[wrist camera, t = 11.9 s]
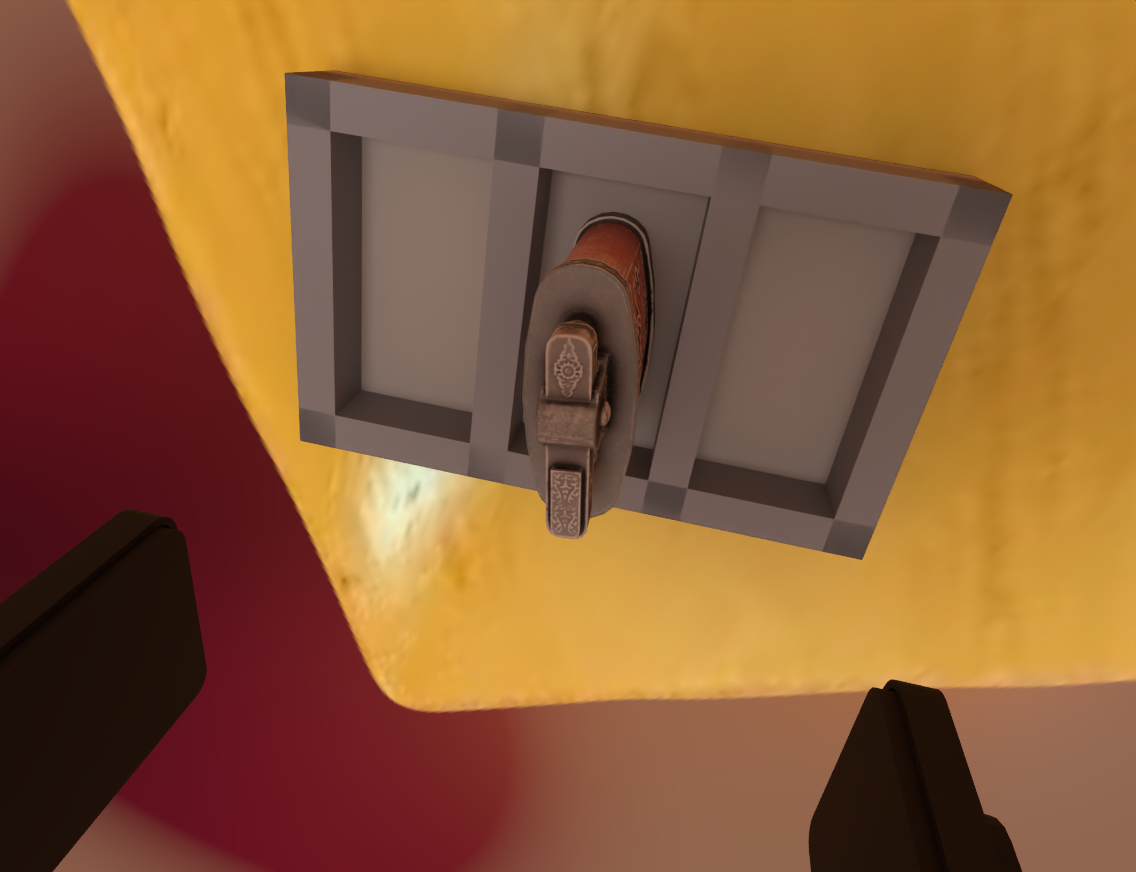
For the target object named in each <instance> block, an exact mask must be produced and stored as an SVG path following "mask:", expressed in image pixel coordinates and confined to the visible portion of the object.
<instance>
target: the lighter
mask: <svg viewBox="0 0 1136 872" xmlns="http://www.w3.org/2000/svg"><path fill="white" fill-rule="evenodd" d="M654 328H655V279H654V271H653V263H652V255H651V248H650V240H649V237H648V234H647V231H646V229H645V228H644V227H643V225H642V224H641V223H640V222H639V221H638V220H637V219H635V218H633V217H632V216H630V215H628V214H625V213H620V212H615V211H614V212H605V213H600V214H598V215H596V216H594V217H592V218H590V219H589V220H588V221H587V222H586V223H585V224H584V225H583V226H582V227H581V229H580V230H579V231H578V234H577V236H576V238H575V241H574V245H573V249H572V251H571V252H570V254H569V255H568V257H567V258H566V260H565V261H564V262H563V263H561V264H559V265H556V266H555V267H554V268H553V269H552V270H551V271H550V272H549V273H548V274H547V275H546V276H545V277H544V279H543V280H542V281H541V283H540V285H539V287H538V289H537V292H536V294H535V297H534V303H533V308H532V313H531V319H530V324H529V329H528V335H527V340H526V346H525V361H524V378H523V395H522V399H523V410H524V420H525V431H526V442H527V449H528V453H529V457H530V462H531V466H532V471H533V475H534V480H535V484H536V488H537V491H538V493H539V495H540V497H541V499H542V500H543V501H544V502H545V503H546V525H547V529H548V530H549V532H550V533H551V534H553V535H554V536H556V537H560V538H567V539H578V538H581V537H583V536H584V534H585V533H586V531H587V527H588V523H589V519H590V518H592V517H595V516H599V515H602V514H604V513H606V512H607V511H608V510H610V509H611V508H613V507H614V505H615V503H616V502H617V500H618V498H619V495H620V492H621V488H622V485H623V481H624V478H625V474H626V470H627V467H628V463H629V460H630V456H631V452H632V447H633V441H634V434H635V427H636V419H637V412H638V405H639V401H640V397H641V394H642V390H643V387H644V383H645V379H646V376H647V372H648V368H649V362H650V355H651V349H652V342H653V335H654Z"/></svg>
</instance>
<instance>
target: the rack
mask: <svg viewBox="0 0 1136 872" xmlns="http://www.w3.org/2000/svg"><path fill="white" fill-rule="evenodd" d="M285 92H286V115H287V139H288V162H289V186H290V209H291V233H292V256H293V280H294V303H295V327H296V350H297V374H298V397H299V421H300V441H304V442H309V443H314V444H318V445H323V446H328V447H333V448H337V449H342V450H347V451H351V452H356V453H361V454H366V455H370V456H375V457H380V458H384V459H389V460H394V461H399V462H403V463H408V464H413V465H417V466H422V467H427V468H432V469H436V470H441V471H446V472H450V473H455V474H460V475H465V476H469V477H474V478H479V479H483V480H488V481H493V482H497V483H502V484H507V485H512V486H516V487H521V488H526V489H530V490H535V491H537V488H536V484H535V480H534V475H533V471H532V466H531V462H530V457H529V453H528V449H527V442H526V431H525V420H524V410H523V399H522V395H523V378H524V361H525V346H526V340H527V335H528V329H529V324H530V319H531V313H532V308H533V303H534V297H535V294H536V292H537V289H538V287H539V285H540V283H541V281H542V280H543V279H544V277H545V276H546V275H547V274H548V273H549V272H550V271H551V270H552V269H553V268H554V267H555V266H556V265H559V264H561V263H563V262H564V261H565V260H566V258H567V257H568V255H569V254H570V252H571V251H572V249H573V245H574V241H575V238H576V236H577V234H578V231H579V230H580V229H581V227H582V226H583V225H584V224H585V223H586V222H587V221H588V220H589V219H590V218H592V217H594V216H596V215H598V214H600V213H605V212H614V211H615V212H620V213H625V214H628V215H630V216H632V217H633V218H635V219H637V220H638V221H639V222H640V223H641V224H642V225H643V227H644V228H645V229H646V231H647V234H648V237H649V240H650V248H651V255H652V263H653V271H654V279H655V328H654V335H653V342H652V349H651V355H650V362H649V368H648V372H647V376H646V379H645V383H644V387H643V390H642V394H641V397H640V401H639V405H638V412H637V419H636V427H635V434H634V441H633V447H632V452H631V456H630V460H629V463H628V467H627V470H626V474H625V478H624V481H623V485H622V488H621V492H620V495H619V498H618V500H617V502H616V503H615V505H614V507H615V508H620V509H625V510H629V511H634V512H639V513H644V514H648V515H653V516H658V517H662V518H667V519H672V520H677V521H681V522H686V523H691V524H695V525H700V526H705V527H710V528H714V529H719V530H724V531H728V532H733V533H738V534H743V535H747V536H752V537H757V538H761V539H766V540H771V541H776V542H780V543H785V544H790V545H794V546H799V547H804V548H809V549H813V550H818V551H823V552H827V553H832V554H837V555H842V556H846V557H851V558H856V559H860V560H862V559H863V556H864V554H865V552H866V549H867V547H868V544H869V542H870V539H871V537H872V535H873V532H874V530H875V527H876V525H877V522H878V520H879V518H880V515H881V513H882V510H883V508H884V505H885V503H886V501H887V498H888V496H889V493H890V491H891V488H892V486H893V484H894V481H895V479H896V476H897V474H898V471H899V469H900V467H901V464H902V462H903V459H904V457H905V455H906V452H907V450H908V447H909V445H910V442H911V440H912V438H913V435H914V433H915V430H916V428H917V425H918V423H919V421H920V418H921V416H922V413H923V411H924V408H925V406H926V404H927V401H928V399H929V396H930V394H931V391H932V389H933V387H934V384H935V382H936V379H937V377H938V374H939V372H940V370H941V367H942V365H943V362H944V360H945V357H946V355H947V353H948V350H949V348H950V345H951V343H952V340H953V338H954V336H955V333H956V331H957V328H958V326H959V323H960V321H961V319H962V316H963V314H964V311H965V309H966V307H967V304H968V302H969V299H970V297H971V294H972V292H973V290H974V287H975V285H976V282H977V280H978V277H979V275H980V273H981V270H982V268H983V265H984V263H985V260H986V258H987V256H988V253H989V251H990V248H991V246H992V243H993V241H994V239H995V236H996V234H997V231H998V229H999V226H1000V224H1001V222H1002V219H1003V217H1004V214H1005V212H1006V209H1007V207H1008V205H1009V202H1010V200H1011V197H1012V194H1010V193H1008V192H1006V191H1004V190H1002V189H1000V188H998V187H995V186H993V185H991V184H989V183H987V182H985V181H983V180H981V179H979V178H977V177H973V176H967V175H961V174H955V173H949V172H943V171H937V170H931V169H925V168H919V167H913V166H907V165H901V164H895V163H889V162H883V161H877V160H871V159H865V158H859V157H852V156H846V155H840V154H834V153H828V152H822V151H816V150H810V149H804V148H798V147H792V146H786V145H780V144H774V143H768V142H762V141H756V140H750V139H744V138H738V137H732V136H726V135H720V134H714V133H708V132H702V131H696V130H690V129H684V128H678V127H672V126H666V125H659V124H653V123H647V122H641V121H635V120H629V119H623V118H617V117H611V116H605V115H599V114H593V113H587V112H581V111H575V110H569V109H563V108H557V107H551V106H545V105H539V104H533V103H527V102H521V101H515V100H509V99H503V98H497V97H491V96H485V95H479V94H473V93H466V92H460V91H454V90H448V89H442V88H436V87H430V86H424V85H418V84H412V83H406V82H400V81H394V80H388V79H382V78H376V77H370V76H364V75H358V74H352V73H346V72H340V71H315V72H295V73H285Z"/></svg>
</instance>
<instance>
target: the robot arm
mask: <svg viewBox="0 0 1136 872" xmlns="http://www.w3.org/2000/svg"><path fill="white" fill-rule="evenodd" d="M206 672H207V670H206V661H205V655H204V649H203V643H202V637H201V631H200V624H199V618H198V613H197V606H196V600H195V594H194V588H193V582H192V576H191V570H190V564H189V557H188V551H187V545H186V540H185V536H184V534H183V533H182V532H181V531H178V529H177V526H176V523H175V522H174V521H173V520H172V519H171V518H168V517H164V516H160V515H155V514H151V513H146V512H141V511H137V510H133V509H129V510H124V511H122V512H120V513H119V514H117V515H116V516H114V517H113V518H112V519H111V520H109V521H108V522H106V523H105V524H104V525H103V526H101V527H100V528H99V529H97V530H96V531H95V532H93V533H92V534H91V535H90V536H88V537H87V538H86V539H85V540H83V541H82V542H80V543H79V544H78V545H76V546H75V547H74V548H73V549H71V550H70V551H69V552H67V553H66V554H65V555H63V556H62V557H61V558H59V559H58V560H57V561H56V562H54V563H53V564H52V565H50V566H49V567H48V568H47V569H45V570H44V571H43V572H41V573H40V574H39V575H38V576H36V577H35V578H33V579H32V580H31V581H29V582H28V583H27V584H26V585H24V586H23V587H22V588H20V589H19V590H18V591H16V592H15V593H14V594H12V595H11V596H10V597H9V598H7V599H6V600H5V601H3V602H2V603H1V604H0V872H53V871H54V869H55V868H56V867H57V866H58V865H59V863H60V862H61V861H62V860H63V858H64V857H65V856H66V854H68V852H69V851H70V850H71V849H72V847H73V846H74V845H75V844H76V842H77V841H78V840H79V839H80V838H81V836H82V835H83V834H84V833H85V832H86V830H87V829H88V828H89V827H90V825H91V824H92V823H93V822H94V821H95V819H96V818H97V817H98V816H99V814H100V813H101V812H102V811H103V810H104V808H105V807H106V806H107V804H108V803H109V802H110V801H111V800H112V799H113V797H114V796H115V795H116V794H117V792H118V791H119V790H120V789H121V788H122V786H123V785H124V784H125V783H126V781H127V780H128V779H129V778H130V776H131V775H132V774H133V773H134V772H135V770H136V769H137V768H138V767H139V765H140V764H141V763H142V762H143V761H144V759H145V758H146V757H147V756H148V755H149V753H150V752H151V751H152V750H153V748H154V747H155V746H156V745H157V744H158V742H159V741H160V740H161V739H162V737H163V736H164V735H165V734H166V733H167V731H168V730H169V729H170V728H171V726H172V725H173V724H174V723H175V721H176V720H177V719H178V718H179V717H180V716H181V714H182V713H183V712H184V711H185V709H186V708H187V707H188V706H189V705H190V703H191V702H192V701H193V699H194V698H195V697H196V696H197V694H198V693H199V692H200V690H201V688H202V686H203V684H204V681H205V678H206ZM809 855H810V865H811V872H1022V870H1021V867H1020V864H1019V862H1018V859H1017V856H1016V853H1015V850H1014V848H1013V845H1012V842H1011V840H1010V838H1009V836H1008V833H1007V831H1006V829H1005V827H1004V826H1003V825H1002V824H1001V823H1000V822H999V820H997V818H994V817H992V816H990V815H986V814H984V812H983V809H982V806H981V803H980V800H979V797H978V795H977V792H976V788H975V786H974V783H973V780H972V777H971V773H970V770H969V767H968V764H967V761H966V758H965V756H964V752H963V749H962V747H961V743H960V740H959V738H958V734H957V731H956V728H955V725H954V722H953V719H952V716H951V713H950V710H949V708H948V704H947V701H946V699H945V697H944V695H943V693H942V692H941V691H940V690H938V689H934V688H929V687H925V686H920V685H916V684H911V683H907V682H902V681H898V680H889V681H888V682H887V683H886V685H885V686H884V688H883V689H879V688H874V687H873V688H871V689H870V690H869V692H868V694H867V696H866V698H865V700H864V703H863V705H862V707H861V709H860V712H859V714H858V716H857V718H856V721H855V723H854V725H853V727H852V730H851V732H850V734H849V736H848V739H847V741H846V743H845V746H844V748H843V750H842V752H841V754H840V757H839V759H838V761H837V763H836V766H835V768H834V770H833V772H832V775H831V777H830V779H829V782H828V784H827V786H826V788H825V790H824V793H823V795H822V797H821V799H820V801H819V804H818V806H817V808H816V811H815V813H814V815H813V818H812V820H811V825H810V831H809Z"/></svg>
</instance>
